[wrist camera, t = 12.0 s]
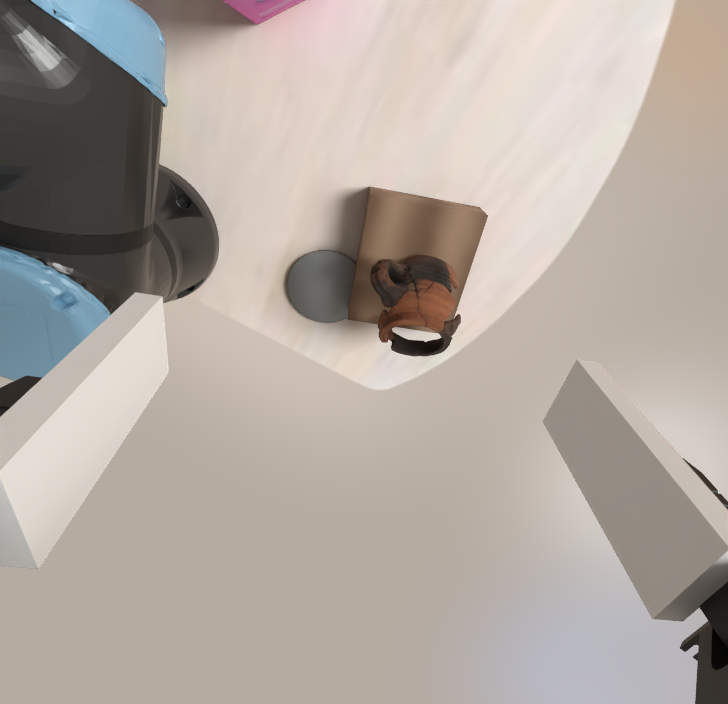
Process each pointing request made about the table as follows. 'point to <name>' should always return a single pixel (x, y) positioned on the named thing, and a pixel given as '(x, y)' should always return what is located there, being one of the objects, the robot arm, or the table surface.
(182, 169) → the table surface
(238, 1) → the gum box
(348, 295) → the coaster
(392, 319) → the pottery mug
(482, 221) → the plinth
